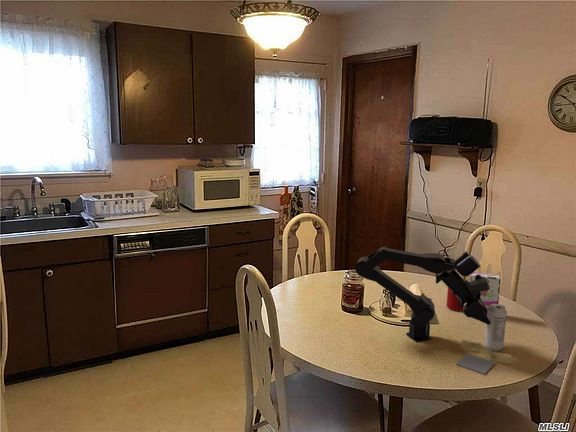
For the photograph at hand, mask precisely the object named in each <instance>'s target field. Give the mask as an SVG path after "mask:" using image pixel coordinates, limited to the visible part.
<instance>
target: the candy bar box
mask: <svg viewBox="0 0 576 432" xmlns="http://www.w3.org/2000/svg"><path fill="white" fill-rule="evenodd" d="M478 274H479V275H481V276H482V277H486V279H487V282H488V284H489V287H490V289H489V290H487V291H482V292H481V297H480V298H481V300H482V302H483V304H484V305H485V307H486V309H487V310H488V308H489V307H490V305H491V304H500V303H499V302H500V290H501V280H502V279H501V274H492V273H482V272H475V271H474V272H473V273H471V274H470V281H469V282H471V281H473V280H475V275H478ZM486 316H487V314H486Z"/></svg>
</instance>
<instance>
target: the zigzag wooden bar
mask: <svg viewBox="0 0 576 432" xmlns="http://www.w3.org/2000/svg"><path fill="white" fill-rule="evenodd" d="M460 349H461V350H466V351H471V352H475V353H478V354H480V355H481V356H483V357H485V359H487V360H488V361H491V362H495V363H496V362H497V363H501V364H505V365H509V366H510V365H511V363H512V354H510V353H505V352H500V351H494V350H491V349H489V348H487V347H486V345H485V344H483V343H481V342H477V341H471V340H468V339H461V344H460Z"/></svg>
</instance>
